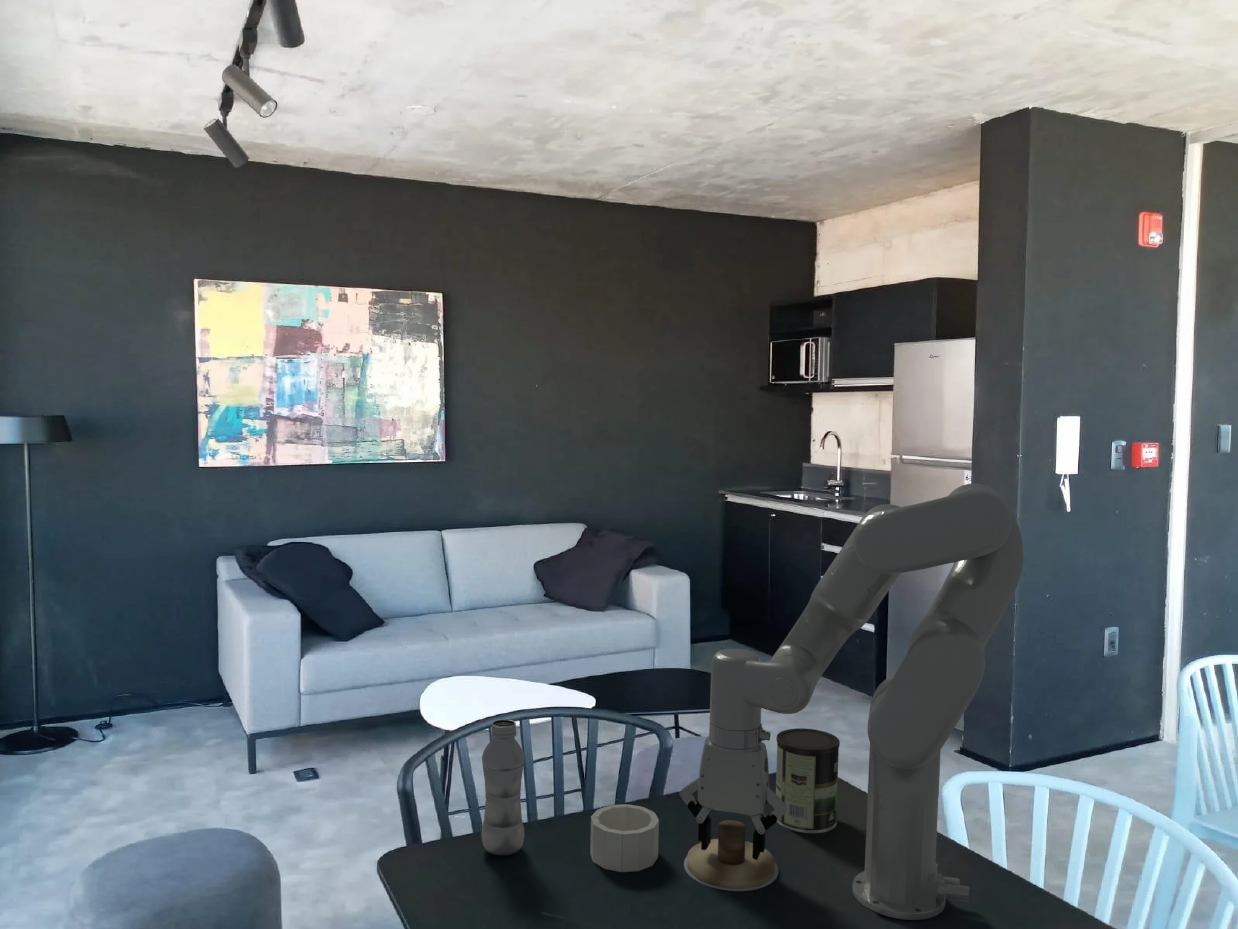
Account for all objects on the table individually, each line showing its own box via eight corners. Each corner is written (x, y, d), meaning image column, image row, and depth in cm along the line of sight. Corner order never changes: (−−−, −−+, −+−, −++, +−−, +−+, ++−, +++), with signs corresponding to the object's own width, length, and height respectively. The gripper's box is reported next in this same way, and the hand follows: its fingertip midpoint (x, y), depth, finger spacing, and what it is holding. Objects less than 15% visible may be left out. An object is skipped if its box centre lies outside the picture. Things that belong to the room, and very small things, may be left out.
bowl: (664, 848, 149) (665, 810, 148) (645, 878, 139) (646, 838, 139) (604, 837, 152) (605, 800, 151) (581, 866, 142) (582, 827, 142)
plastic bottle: (503, 865, 142) (505, 734, 141) (471, 852, 146) (472, 724, 145) (533, 849, 147) (534, 722, 146) (501, 837, 151) (502, 713, 150)
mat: (785, 855, 147) (785, 854, 147) (769, 900, 134) (769, 898, 134) (697, 840, 152) (697, 838, 152) (672, 882, 138) (672, 880, 138)
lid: (781, 854, 147) (783, 815, 146) (766, 896, 134) (767, 853, 134) (699, 840, 151) (700, 802, 150) (677, 879, 139) (678, 837, 138)
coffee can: (829, 808, 164) (832, 728, 163) (842, 836, 154) (846, 750, 153) (769, 807, 165) (772, 726, 164) (778, 834, 154) (781, 749, 153)
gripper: (797, 734, 142) (793, 850, 143) (684, 718, 148) (681, 830, 149) (789, 751, 135) (785, 873, 136) (671, 734, 141) (668, 851, 142)
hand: (731, 850), depth 142 cm, fingers open, 7 cm apart
